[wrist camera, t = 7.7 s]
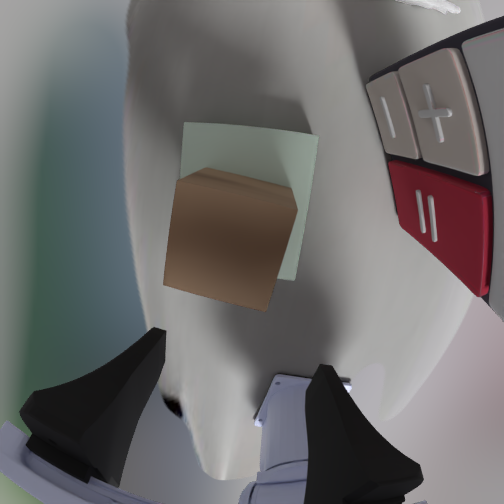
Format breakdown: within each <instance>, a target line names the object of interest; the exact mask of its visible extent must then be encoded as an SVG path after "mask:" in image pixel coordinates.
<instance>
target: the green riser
mask: <svg viewBox="0 0 504 504" xmlns="http://www.w3.org/2000/svg"><path fill="white" fill-rule="evenodd" d="M318 140H319V136H318V135H312V134H306V133H300V132H293V131H286V130H279V129H271V128H263V127H253V126H243V125H231V124H217V123H197V122H184V128H183V140H182V153H181V168H180V179H181V178H183V177H186V176H188V175H190V174H192V173H194V172H196V171H199V170H201V169H203V168H205V167H207V168H212V169H216V170H221V171H225V172H230V173H234V174H238V175H242V176H247V177H251V178H255V179H259V180H263V181H267V182H270V183H274V184H278V185H282V186H285V187H289V188H292V191H293V195H294V198H295V201H296V205H297V208H298V212H297V216H296V219H295V222H294V226H293V229H292V232H291V235H290V239H289V242H288V245H287V248H286V252H285V255H284V258H283V261H282V264H281V267H280V271H279V274H278V277H277V279H284V280H292V281H295V276H296V271H297V266H298V261H299V256H300V251H301V245H302V240H303V234H304V229H305V223H306V217H307V211H308V206H309V199H310V193H311V187H312V181H313V174H314V168H315V161H316V154H317V147H318Z"/></svg>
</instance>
